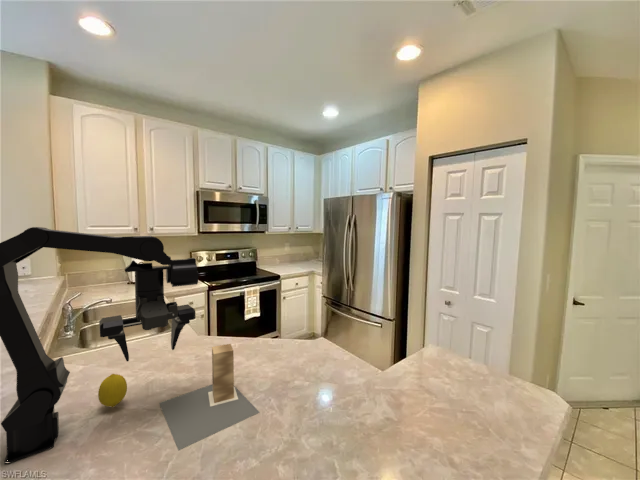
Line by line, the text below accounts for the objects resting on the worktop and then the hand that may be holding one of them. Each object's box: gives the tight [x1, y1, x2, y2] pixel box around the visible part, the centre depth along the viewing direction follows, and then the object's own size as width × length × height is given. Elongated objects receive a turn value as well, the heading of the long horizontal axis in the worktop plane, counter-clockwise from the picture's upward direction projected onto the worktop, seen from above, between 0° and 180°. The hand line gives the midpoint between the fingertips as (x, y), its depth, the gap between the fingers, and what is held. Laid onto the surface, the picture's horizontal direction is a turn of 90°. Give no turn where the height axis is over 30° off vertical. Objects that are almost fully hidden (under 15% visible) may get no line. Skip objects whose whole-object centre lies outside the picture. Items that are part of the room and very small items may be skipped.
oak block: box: [211, 343, 235, 403], centre depth 69 cm, size 5×5×12 cm
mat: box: [158, 384, 260, 451], centre depth 65 cm, size 17×19×1 cm
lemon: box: [97, 373, 128, 408], centre depth 66 cm, size 6×6×8 cm
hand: (151, 354), depth 65 cm, fingers open, 9 cm apart
